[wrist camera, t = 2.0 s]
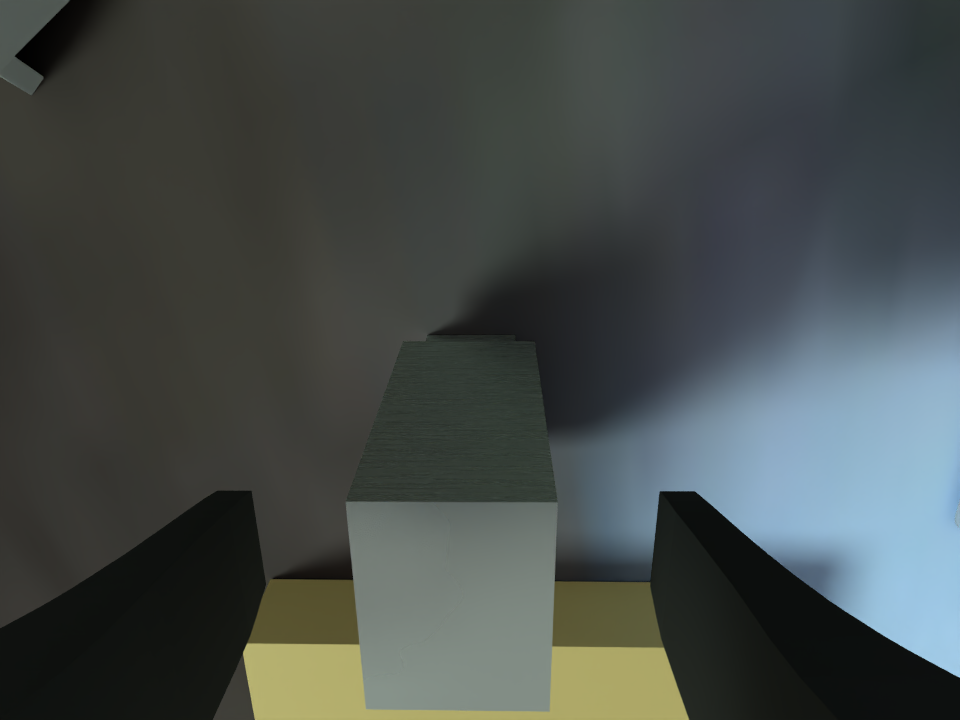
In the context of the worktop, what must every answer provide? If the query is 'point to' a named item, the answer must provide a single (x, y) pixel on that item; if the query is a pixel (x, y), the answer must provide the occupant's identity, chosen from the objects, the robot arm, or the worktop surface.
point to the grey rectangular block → (456, 531)
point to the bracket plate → (343, 715)
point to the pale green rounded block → (22, 37)
